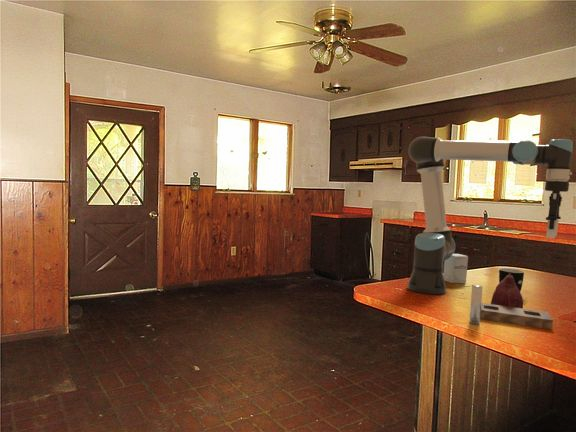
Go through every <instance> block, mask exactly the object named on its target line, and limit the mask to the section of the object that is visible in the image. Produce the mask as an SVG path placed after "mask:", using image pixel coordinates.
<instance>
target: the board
mask: <svg viewBox="0 0 576 432" xmlns="http://www.w3.org/2000/svg"><path fill="white" fill-rule="evenodd" d="M484 319H486V320H485V321H491V320H492V321H491V322H498V323H505V324H512V325H517V326H518V325H519V326H525V327H532V328H538V329H545V330H549V331H550V330H551V331H553V323H554V319H553V318H552V316H551V315H550V314H549V312H548V311H543V310H537V309H529V308H524V307H523V308H515V307H508V306H501V305H493V304H491V303H486V302H481V314H480V320H484Z"/></svg>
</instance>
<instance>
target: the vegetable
mask: <svg viewBox="0 0 576 432" xmlns="http://www.w3.org/2000/svg"><path fill="white" fill-rule="evenodd" d="M490 304H493V305H501V306H508V307H515V308H523V309H524V300H523V295H522V293H521V291H519V289H518V287H517V286H516V283H515V281H514V278H513V276H512V275H511V274H510V273H509V275H507V276H506V277H505V278H504V279H503V280H502V281H501V282H500V283H499V282H498V284H497V286H496V287H495V289H494V292H493V294H492V296H491V301H490Z"/></svg>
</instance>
